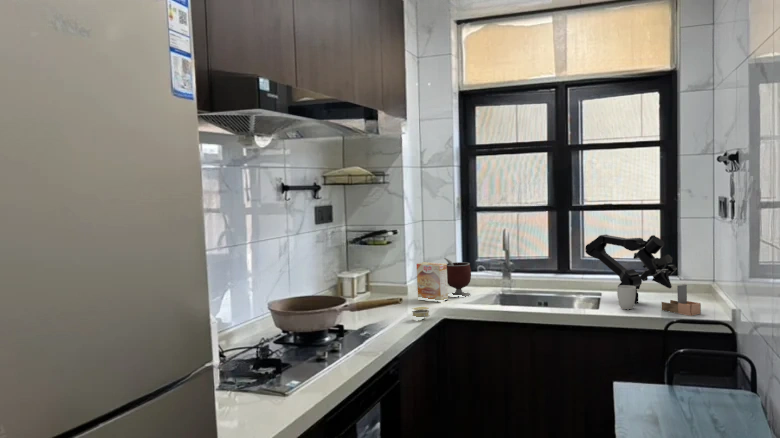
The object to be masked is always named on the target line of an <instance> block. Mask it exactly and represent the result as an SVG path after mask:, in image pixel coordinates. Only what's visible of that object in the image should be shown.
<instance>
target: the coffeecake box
mask: <svg viewBox="0 0 780 438" xmlns="http://www.w3.org/2000/svg"><path fill="white" fill-rule="evenodd" d="M447 264H448V263H443V262H441V263H439V262H428V261H423V262H418V263H416V281H417V283H416V284H417V298H418V297H422V298H428V299H435V300H444V299H448V300H449V297H448V294H449V290H448V289H449V287H448V286H449V284H448V283H447Z"/></svg>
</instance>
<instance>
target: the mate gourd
mask: <svg viewBox="0 0 780 438" xmlns="http://www.w3.org/2000/svg"><path fill="white" fill-rule="evenodd" d="M443 259H444V260H445V261H446V262H447V263H446V264H447V284H448V286H449V287H451V288H453V289H456V290H455V293H453V292H451V293H452V294H453V295H462V296H468V297H470V296H471V293H470V292H467V293H464V292H465V291H464V292H463V290H462V289H464V288H465V287H467V286H469V284H470V283H471V278H472V269H471V263H470V262H461V261H460V262H458V261H456V262H452V261H451V260H450V259H449V258H446V257H444V258H443ZM469 295H470V296H469Z"/></svg>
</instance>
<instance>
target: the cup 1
mask: <svg viewBox="0 0 780 438" xmlns="http://www.w3.org/2000/svg"><path fill="white" fill-rule="evenodd" d="M636 290H637V289H636V287H635V286H629V285H621V286H618V285H617V286H616V295H617V299H618V304H619V307H620V309H621V310H623V309H627V310H626V311H630V310H629V309H632V310H634V306H635V304H636V303H635V297H636Z"/></svg>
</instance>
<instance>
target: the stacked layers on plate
mask: <svg viewBox="0 0 780 438" xmlns="http://www.w3.org/2000/svg"><path fill="white" fill-rule="evenodd" d="M411 309H413V310H412V311H411V312H412V316H416V317H425V318H429V317H430V313H429V312H430V310H428V309H430V307H427V306H426V307H425V306H417V307H413V308H411Z"/></svg>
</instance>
